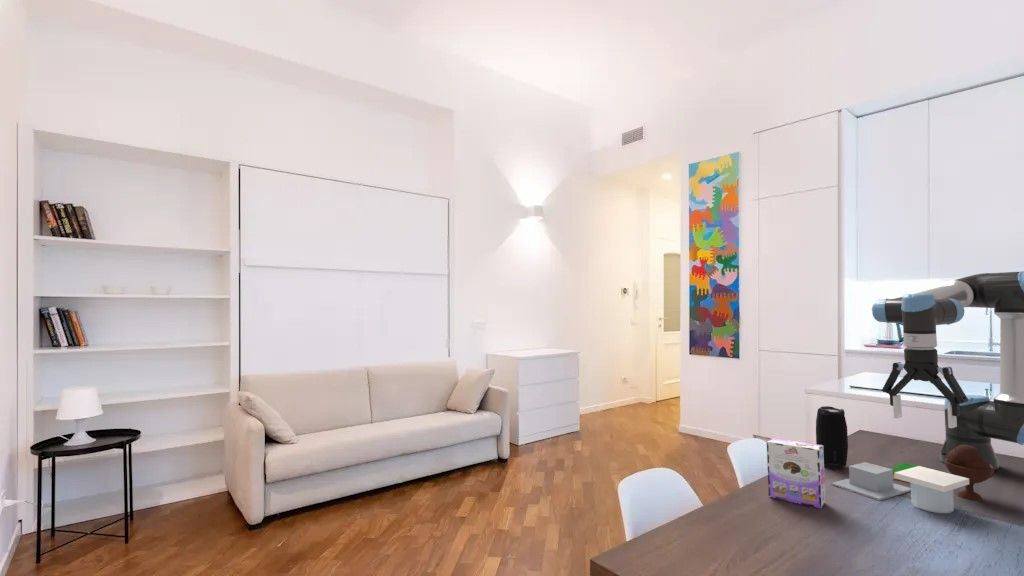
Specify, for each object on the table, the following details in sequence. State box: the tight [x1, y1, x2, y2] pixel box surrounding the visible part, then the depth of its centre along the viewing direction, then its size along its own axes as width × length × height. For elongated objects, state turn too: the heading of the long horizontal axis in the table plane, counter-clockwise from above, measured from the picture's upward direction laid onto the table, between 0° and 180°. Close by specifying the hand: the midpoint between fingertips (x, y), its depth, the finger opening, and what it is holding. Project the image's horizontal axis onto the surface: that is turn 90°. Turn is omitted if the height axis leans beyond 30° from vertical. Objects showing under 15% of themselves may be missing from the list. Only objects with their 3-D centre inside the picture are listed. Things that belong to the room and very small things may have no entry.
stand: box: [831, 461, 911, 502], centre depth 158 cm, size 16×14×6 cm
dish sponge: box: [891, 462, 929, 484], centre depth 168 cm, size 7×14×2 cm, turn 125°
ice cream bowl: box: [943, 445, 996, 501], centre depth 150 cm, size 11×11×15 cm
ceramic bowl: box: [910, 483, 955, 514], centre depth 144 cm, size 9×9×7 cm
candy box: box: [766, 437, 826, 509], centre depth 150 cm, size 14×6×16 cm, turn 47°
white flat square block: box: [894, 465, 969, 492], centre depth 144 cm, size 12×12×2 cm
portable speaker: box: [815, 405, 849, 470], centre depth 179 cm, size 9×9×20 cm
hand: (924, 422), depth 149 cm, fingers open, 13 cm apart
